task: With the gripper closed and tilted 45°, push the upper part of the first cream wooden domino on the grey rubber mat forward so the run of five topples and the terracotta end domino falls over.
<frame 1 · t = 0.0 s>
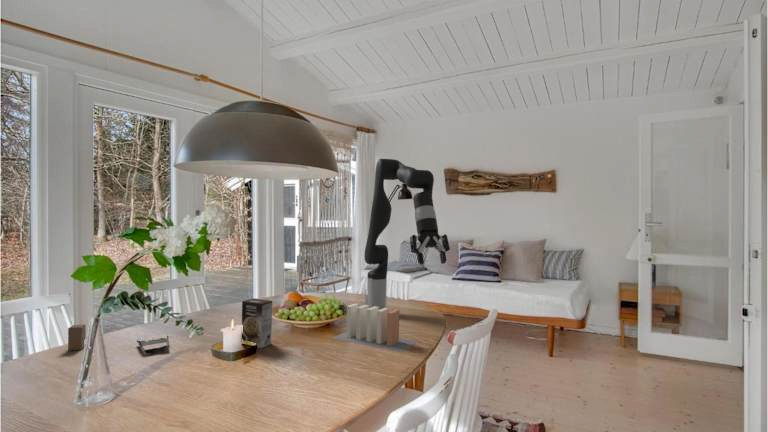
hand: (432, 263, 143), 31 cm above the table, tool tilted 20°, fingers open, 8 cm apart
domino 4: (382, 341, 154), resting on domino mat
wooden block: (76, 349, 142), on the table
domino 2: (362, 337, 158), resting on domino mat
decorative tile: (154, 350, 144), on the table
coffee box: (256, 344, 150), on the table
domino 3: (372, 339, 156), resting on domino mat
domino 5: (393, 343, 152), resting on domino mat
domino mat: (374, 341, 156), on the table
domino 1: (352, 335, 160), resting on domino mat
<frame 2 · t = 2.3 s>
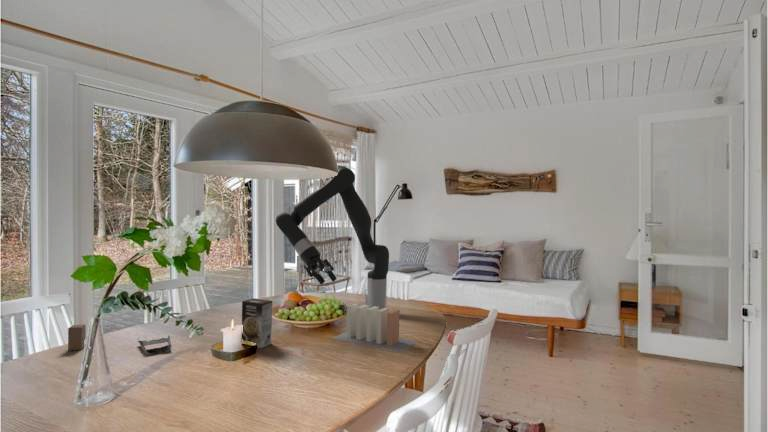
hand: (329, 281, 166), 21 cm above the table, tool tilted 45°, fingers open, 8 cm apart
nothing on the table moved.
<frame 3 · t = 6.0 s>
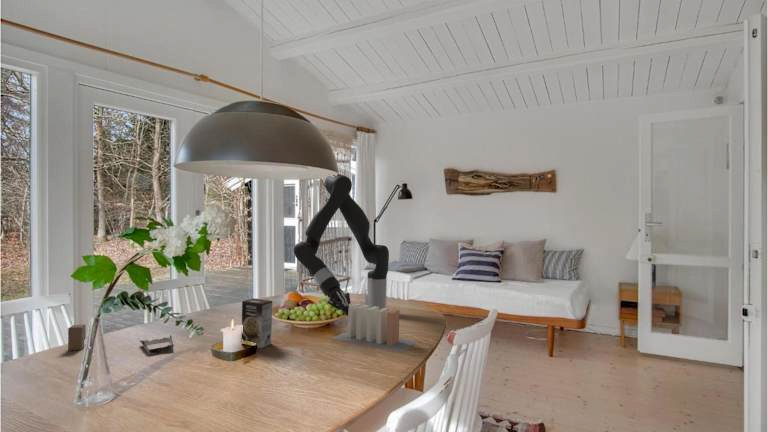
hand: (351, 315, 161), 8 cm above the table, tool tilted 45°, fingers closed
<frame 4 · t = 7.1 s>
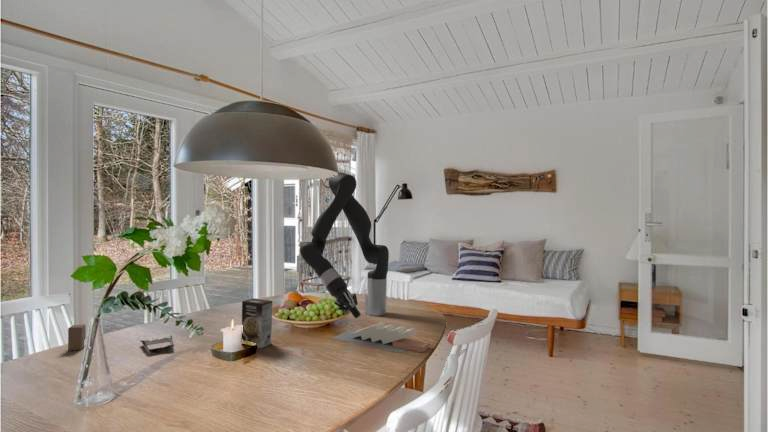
hand: (358, 316, 159), 8 cm above the table, tool tilted 45°, fingers closed
domino 4: (385, 339, 153), point 1 cm above the table, tilted 66°, touching domino 3, domino 5
domino 2: (365, 335, 158), point 1 cm above the table, tilted 66°, touching domino 1, domino 3
domino 3: (375, 337, 155), point 1 cm above the table, tilted 66°, touching domino 2, domino 4, domino mat
domino 5: (396, 341, 151), point 1 cm above the table, tilted 90°, touching domino 4, domino mat
domino 1: (355, 334, 160), point 1 cm above the table, tilted 66°, touching domino 2, domino mat
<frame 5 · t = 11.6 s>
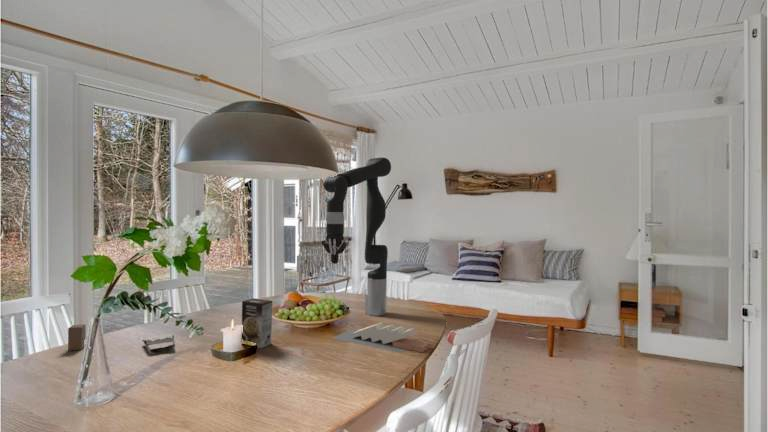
hand: (334, 263, 174), 27 cm above the table, tool pointing down, fingers closed
at the end: domino 1 tilted 66°; domino 5 tilted 90° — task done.
